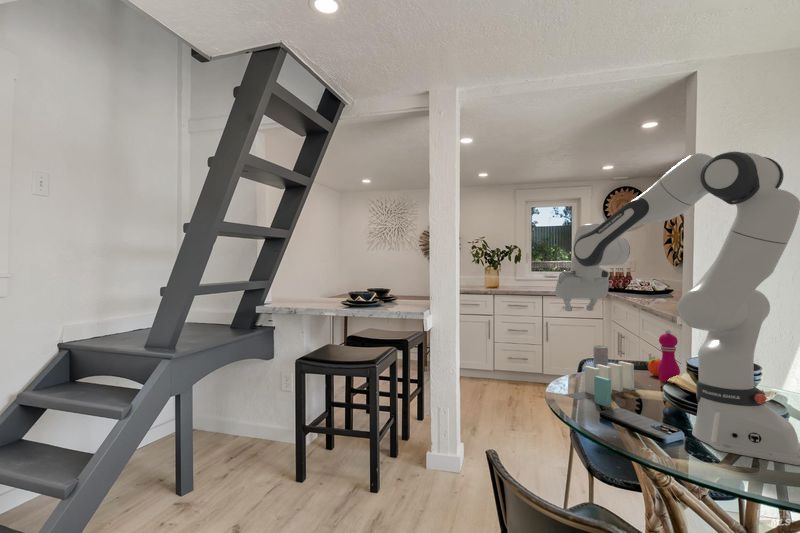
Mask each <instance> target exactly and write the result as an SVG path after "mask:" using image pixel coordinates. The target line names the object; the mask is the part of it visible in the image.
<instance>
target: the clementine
mask: <svg viewBox="0 0 800 533" xmlns="http://www.w3.org/2000/svg"><path fill="white" fill-rule="evenodd" d="M660 362H661V359H660V358H652V359H650V360H648V361H647V362H646V364H647V369H648V372H649V373H650V374H651V375H653V376H654V377H659V376H661V374H660V373H659V372H658V365H659V363H660Z"/></svg>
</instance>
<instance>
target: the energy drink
mask: <svg viewBox="0 0 800 533" xmlns="http://www.w3.org/2000/svg"><path fill="white" fill-rule="evenodd" d="M607 363H609V349H608V346H606V345H593V367H594V368H596V365H598V364H600V365H604V366H607Z"/></svg>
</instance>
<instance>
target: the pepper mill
mask: <svg viewBox="0 0 800 533" xmlns="http://www.w3.org/2000/svg"><path fill="white" fill-rule="evenodd" d="M658 342H659V344H660V350H661V354H662V355H661V359H660V360H661V362H660V363H659V365H658V372H659V373H660V374H661V376H658V379H659V381H660V382H664V383H667V382H666V381H667V380H668V379H669V378H670V377H673V376H676V375H678V376H680V375H681V374H680V373H681V369H680V366H679V365H678V363H677V361H676V355H675V352H676V351H677V347H676V346H677V345H678V338H677V337H676V335H674V334H672V332H671V330H669V329H666V330H665V333H664V334H660V336H659V338H658Z"/></svg>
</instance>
